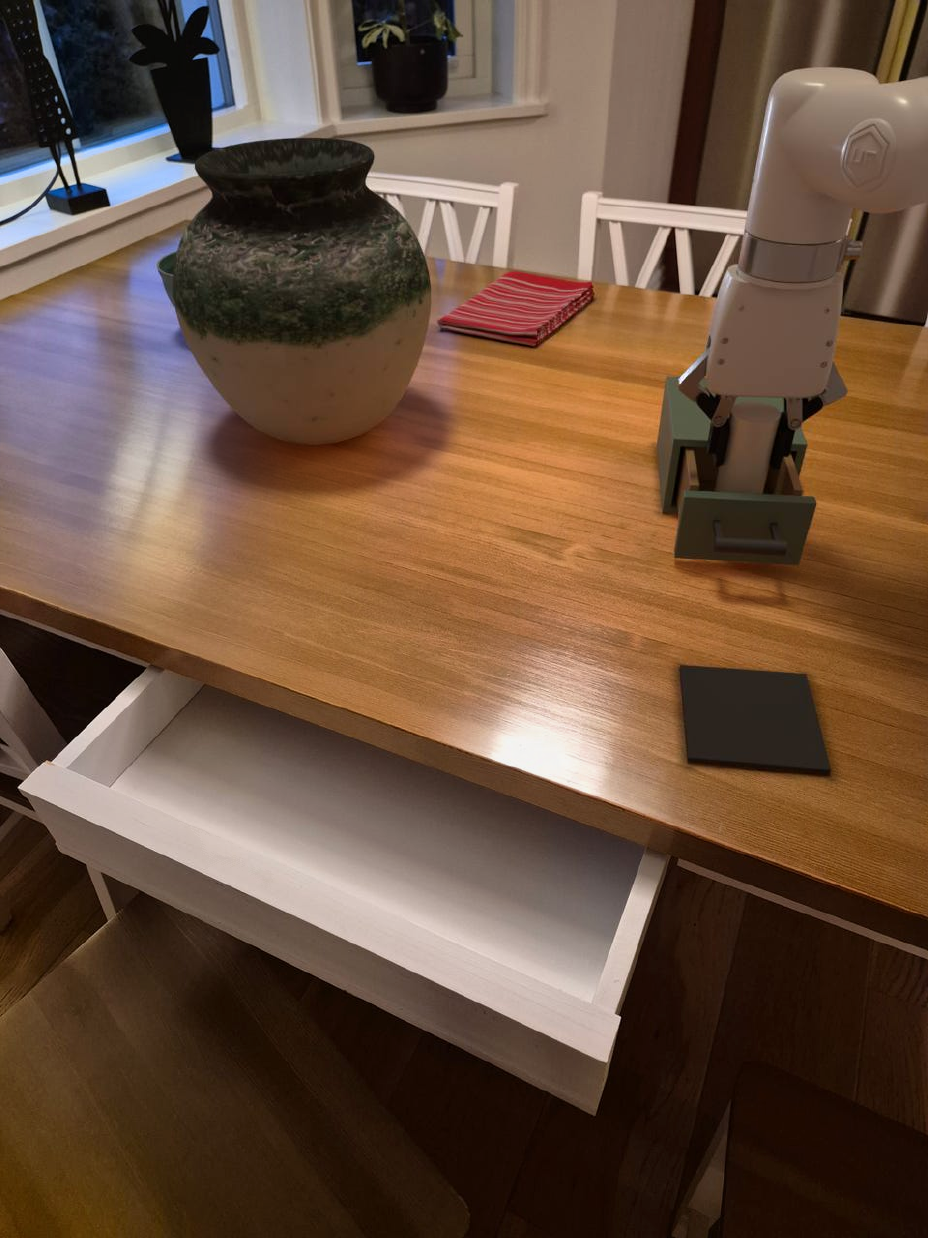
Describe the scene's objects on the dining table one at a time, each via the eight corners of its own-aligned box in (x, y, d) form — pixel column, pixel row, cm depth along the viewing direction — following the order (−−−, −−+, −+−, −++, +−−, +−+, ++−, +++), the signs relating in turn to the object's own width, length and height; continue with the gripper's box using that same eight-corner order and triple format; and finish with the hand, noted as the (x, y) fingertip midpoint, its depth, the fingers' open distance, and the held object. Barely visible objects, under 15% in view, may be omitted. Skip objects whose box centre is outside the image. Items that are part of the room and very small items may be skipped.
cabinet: (787, 519, 85) (808, 444, 80) (662, 513, 87) (673, 438, 81) (767, 450, 96) (784, 379, 91) (656, 445, 98) (666, 375, 92)
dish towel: (597, 297, 136) (598, 280, 134) (537, 349, 120) (538, 330, 119) (503, 283, 143) (503, 267, 141) (435, 330, 127) (434, 313, 125)
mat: (804, 679, 67) (806, 673, 67) (829, 775, 60) (831, 770, 59) (679, 669, 69) (680, 664, 68) (687, 763, 61) (688, 757, 61)
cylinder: (752, 509, 83) (777, 401, 76) (758, 534, 80) (785, 424, 72) (707, 507, 84) (727, 399, 76) (711, 531, 80) (733, 422, 73)
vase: (180, 486, 93) (98, 192, 74) (236, 379, 115) (183, 131, 96) (433, 481, 93) (417, 185, 73) (441, 375, 114) (430, 124, 95)
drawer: (806, 593, 74) (826, 529, 70) (676, 585, 76) (688, 522, 71) (777, 490, 88) (792, 431, 83) (667, 484, 89) (676, 426, 85)
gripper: (889, 243, 68) (831, 445, 79) (677, 240, 70) (651, 438, 81) (914, 273, 62) (848, 486, 74) (683, 269, 64) (654, 477, 76)
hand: (745, 459), depth 77 cm, fingers closed on cylinder, 4 cm apart
